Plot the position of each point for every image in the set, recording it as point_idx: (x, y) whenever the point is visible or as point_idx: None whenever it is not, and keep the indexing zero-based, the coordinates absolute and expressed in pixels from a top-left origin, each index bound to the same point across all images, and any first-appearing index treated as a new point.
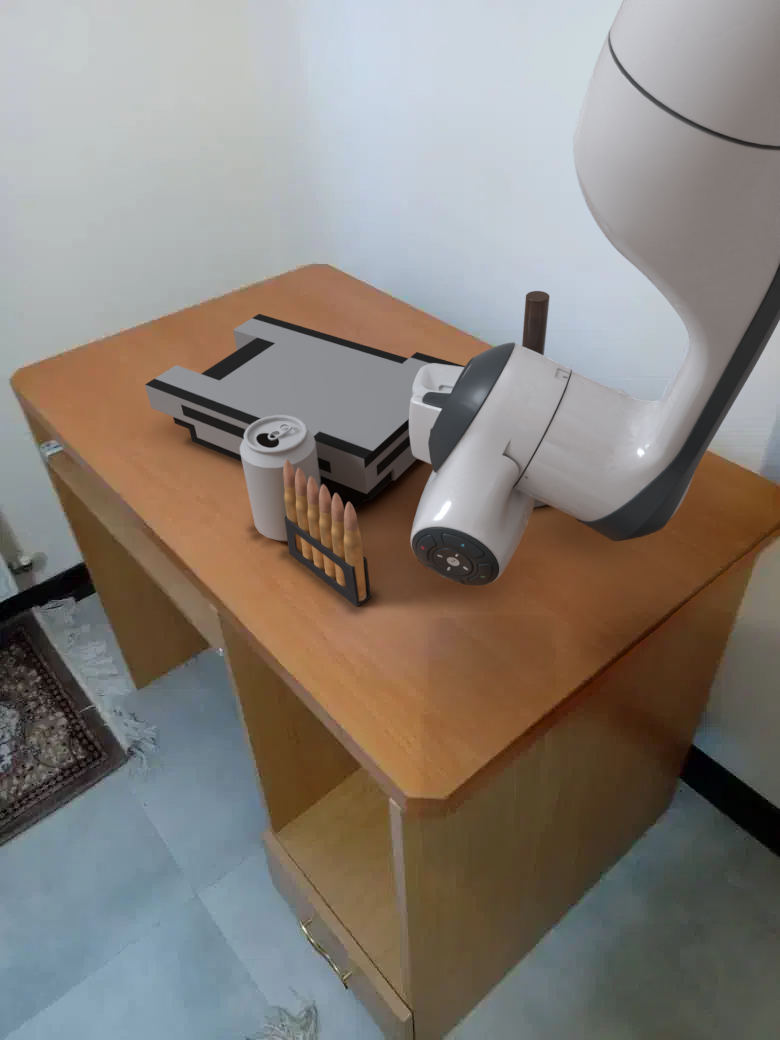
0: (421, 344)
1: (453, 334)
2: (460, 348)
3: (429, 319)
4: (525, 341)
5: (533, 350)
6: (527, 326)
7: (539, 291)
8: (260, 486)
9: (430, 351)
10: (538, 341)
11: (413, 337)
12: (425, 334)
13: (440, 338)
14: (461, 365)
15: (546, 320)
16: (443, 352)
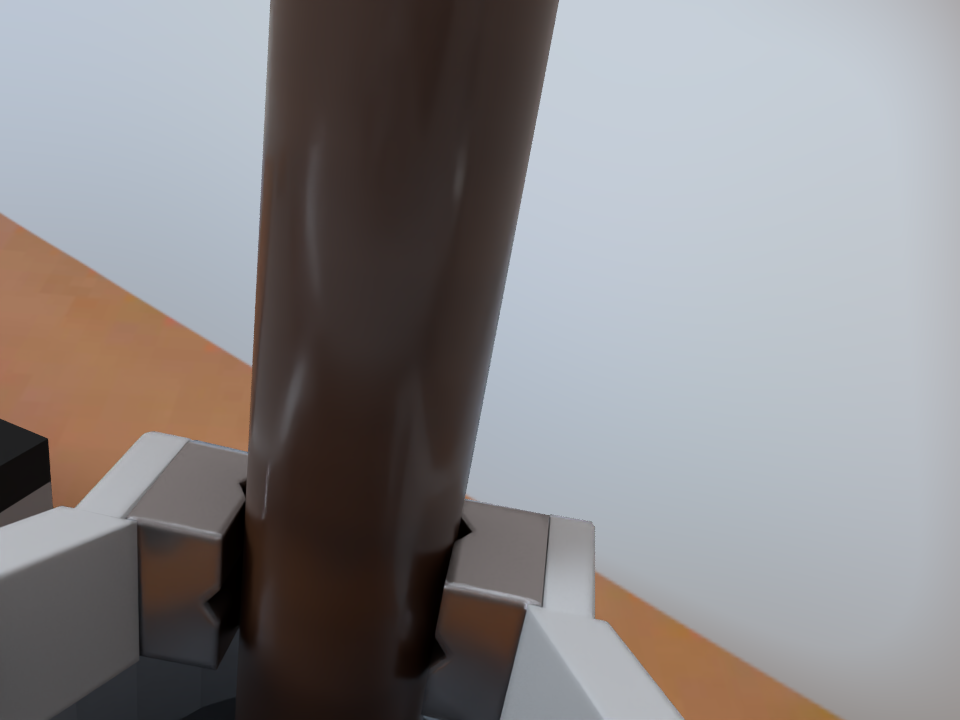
0: (44, 339)
1: (157, 320)
2: (164, 360)
3: (103, 277)
4: (280, 284)
5: (370, 397)
6: (303, 83)
7: None
8: None
9: (63, 361)
10: (434, 295)
11: (28, 317)
12: (71, 312)
13: (113, 327)
14: (25, 431)
15: (545, 43)
16: (105, 368)
